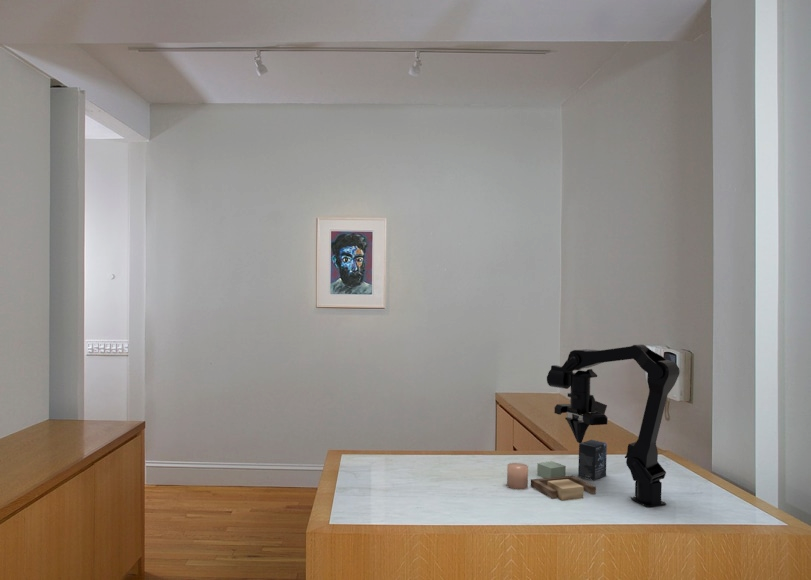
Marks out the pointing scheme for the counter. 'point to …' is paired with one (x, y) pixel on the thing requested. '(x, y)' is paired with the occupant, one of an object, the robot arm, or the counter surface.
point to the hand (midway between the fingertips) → (579, 442)
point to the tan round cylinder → (517, 476)
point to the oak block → (566, 489)
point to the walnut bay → (542, 482)
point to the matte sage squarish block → (550, 469)
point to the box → (592, 459)
